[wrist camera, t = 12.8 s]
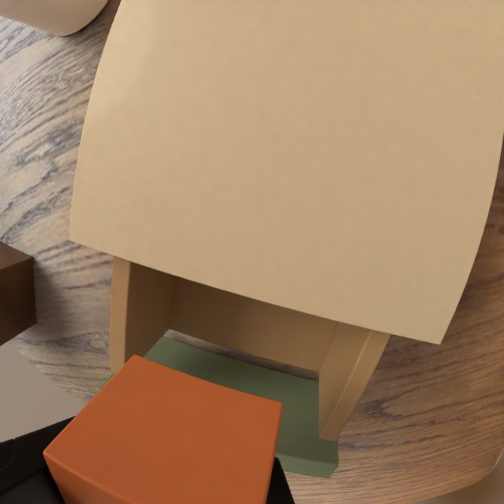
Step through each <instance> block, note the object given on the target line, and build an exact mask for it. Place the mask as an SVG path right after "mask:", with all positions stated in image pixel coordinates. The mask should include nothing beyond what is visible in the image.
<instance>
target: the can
mask: <svg viewBox="0 0 504 504" xmlns="http://www.w3.org/2000/svg"><path fill="white" fill-rule="evenodd" d="M108 2H109V0H0V16H3V17H6V18H9V19H12V20H15V21H18V22H20V23H23V24H26V25H29V26H32V27H34V28H37V29H40V30H42V31H45V32H48V33H51V34H53V35H56V36H66V35H70V34H72V33H74V32H77V31H79V30H81V29H82V28H84V27H85V26H87V25H88V24H89V23H91V22H92V21H93V20H94V19H95V18H96V17H97V16H98V15H99V14H100V13H101V12H102V10H103V9H104V8H105V6H106V5H107V3H108Z"/></svg>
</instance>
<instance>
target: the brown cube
mask: <svg viewBox="0 0 504 504" xmlns="http://www.w3.org/2000/svg"><path fill="white" fill-rule="evenodd" d="M36 323H37V322H36V312H35V299H34V281H33V257H31V256H29V255H27V254H25V253H23V252H20V251H18V250H16V249H14V248H12V247H10V246H8V245H6V244H4V243H2V242H0V346H1V345H3V344H4V343H6V342H7V341H9V340H11V339H12V338H14V337H15V336H17V335H18V334H20V333H22V332H23V331H25V330H26V329H28V328H30V327H31V326H33V325H35V324H36Z"/></svg>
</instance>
